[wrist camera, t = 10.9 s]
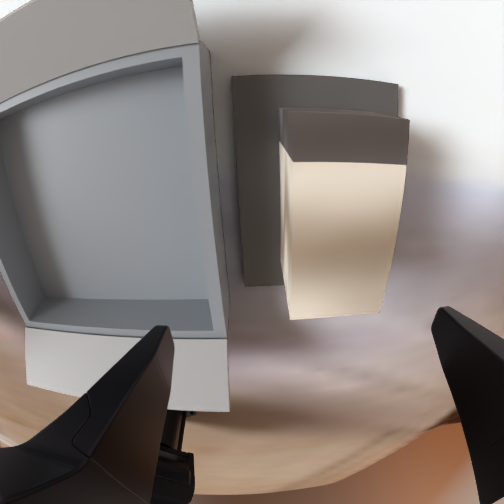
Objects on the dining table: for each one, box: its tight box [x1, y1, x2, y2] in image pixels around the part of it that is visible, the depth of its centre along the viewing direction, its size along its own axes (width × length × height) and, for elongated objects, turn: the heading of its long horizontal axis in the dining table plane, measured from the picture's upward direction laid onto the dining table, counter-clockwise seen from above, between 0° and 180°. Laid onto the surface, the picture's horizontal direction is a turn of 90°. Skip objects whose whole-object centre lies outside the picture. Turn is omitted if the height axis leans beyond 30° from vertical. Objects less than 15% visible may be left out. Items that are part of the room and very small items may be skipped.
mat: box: [232, 75, 398, 286], centre depth 18 cm, size 14×10×1 cm
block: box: [278, 107, 410, 320], centre depth 15 cm, size 10×5×6 cm, turn 3°
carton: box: [0, 0, 230, 412], centre depth 15 cm, size 25×18×8 cm
